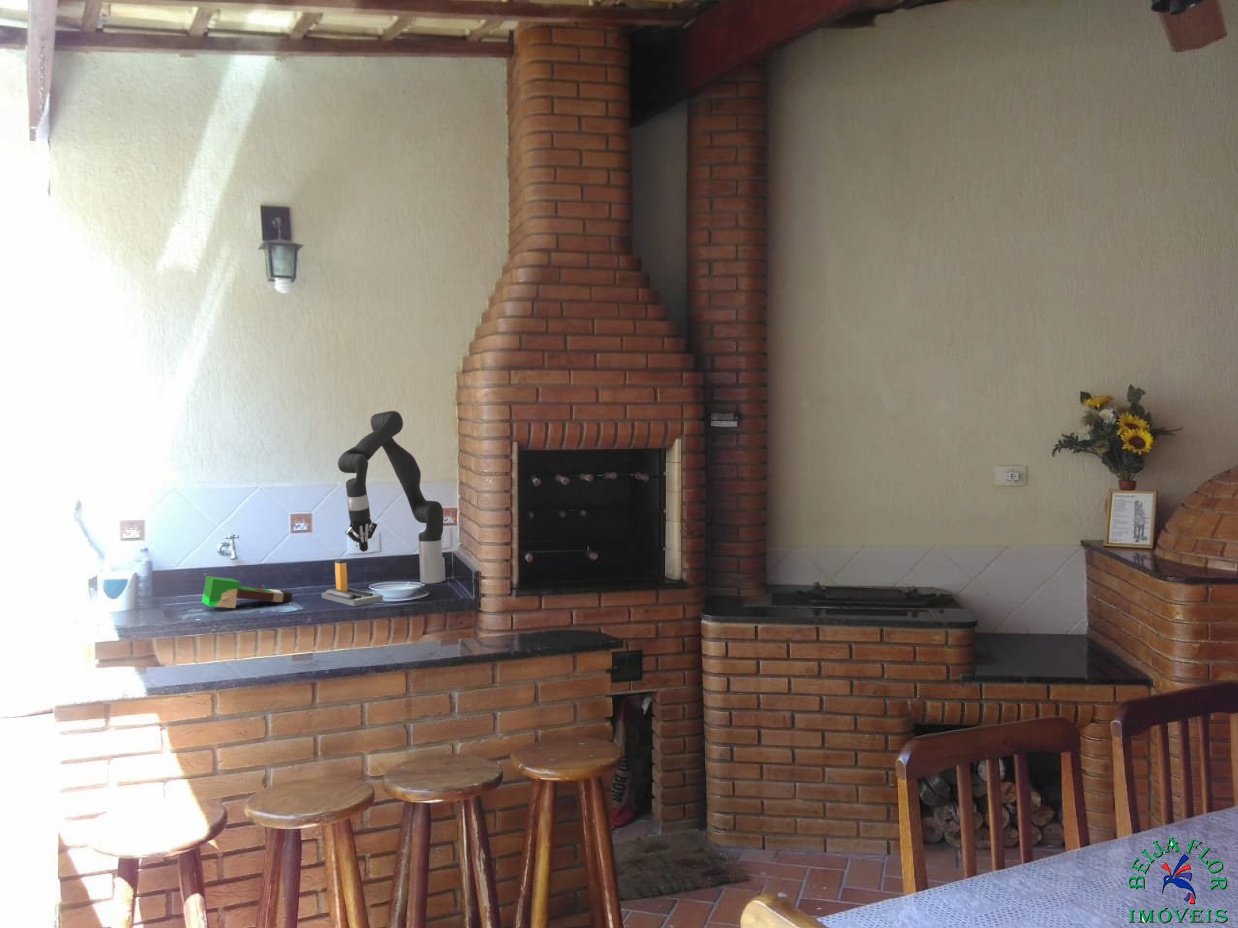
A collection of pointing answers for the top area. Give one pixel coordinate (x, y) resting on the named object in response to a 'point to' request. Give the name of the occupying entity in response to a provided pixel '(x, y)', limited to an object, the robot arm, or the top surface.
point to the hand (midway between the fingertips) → (364, 550)
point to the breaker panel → (352, 601)
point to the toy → (237, 593)
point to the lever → (341, 574)
